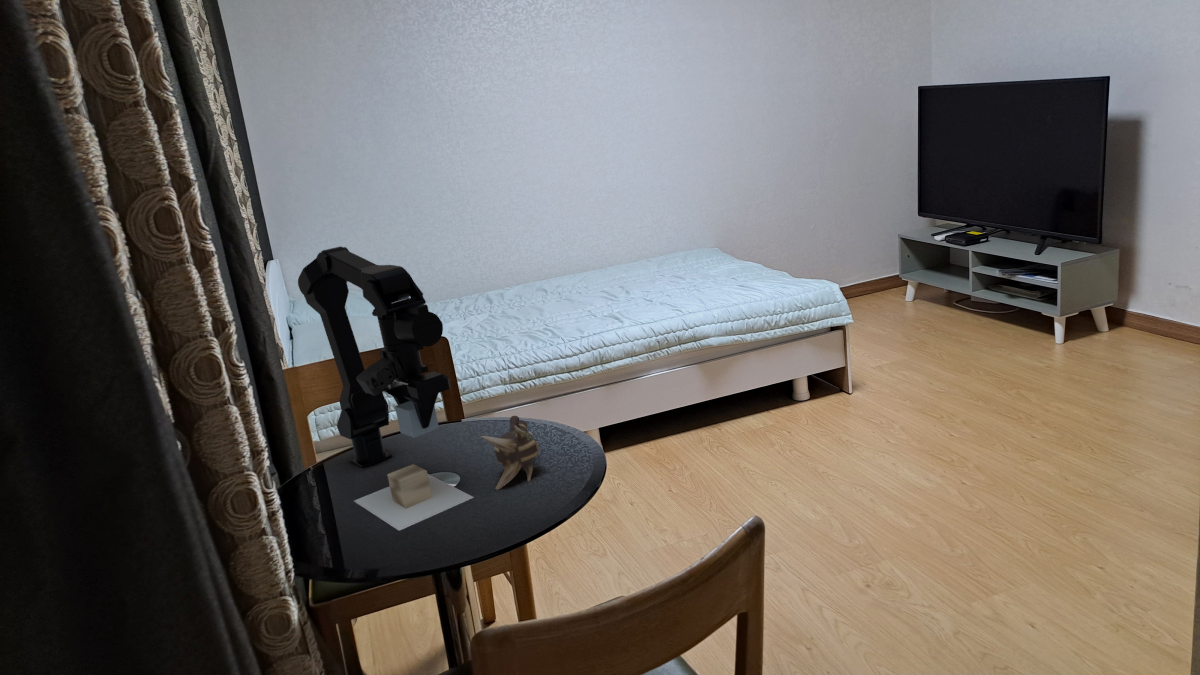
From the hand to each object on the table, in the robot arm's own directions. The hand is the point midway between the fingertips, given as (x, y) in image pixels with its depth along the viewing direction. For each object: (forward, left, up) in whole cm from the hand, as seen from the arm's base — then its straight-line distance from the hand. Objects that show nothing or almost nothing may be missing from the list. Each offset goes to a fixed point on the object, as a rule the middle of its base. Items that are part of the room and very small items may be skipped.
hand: (418, 425), depth 148 cm
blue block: (0, 0, -1) cm, 1 cm away
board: (+4, -6, -11) cm, 13 cm away
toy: (+11, +13, -12) cm, 20 cm away
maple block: (+4, -6, -11) cm, 13 cm away
